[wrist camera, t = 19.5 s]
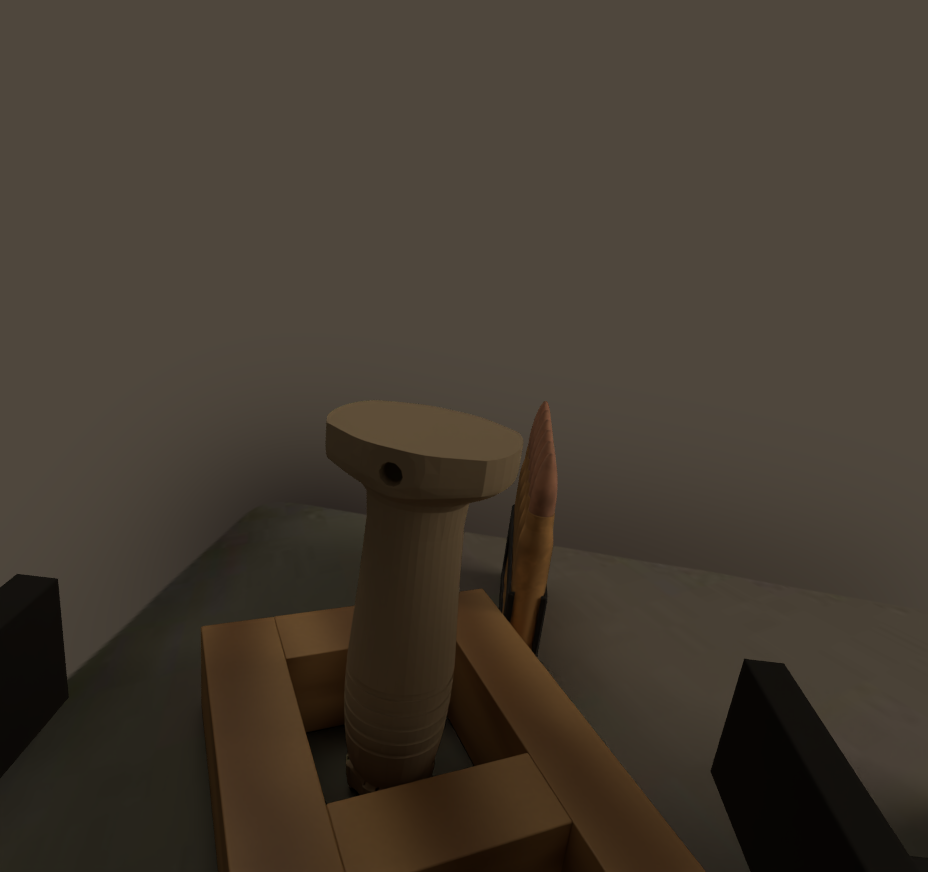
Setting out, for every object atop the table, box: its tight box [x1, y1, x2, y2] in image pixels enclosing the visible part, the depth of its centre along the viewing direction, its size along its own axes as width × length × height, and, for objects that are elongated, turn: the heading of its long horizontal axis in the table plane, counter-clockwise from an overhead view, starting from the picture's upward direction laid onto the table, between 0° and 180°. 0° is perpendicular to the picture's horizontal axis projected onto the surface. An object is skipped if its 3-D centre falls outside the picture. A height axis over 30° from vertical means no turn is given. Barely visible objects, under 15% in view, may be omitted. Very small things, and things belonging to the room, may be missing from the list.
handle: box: [326, 400, 523, 795], centre depth 24 cm, size 5×6×15 cm
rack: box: [201, 589, 706, 872], centre depth 22 cm, size 13×23×4 cm, turn 23°
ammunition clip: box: [499, 401, 557, 657], centre depth 36 cm, size 11×2×12 cm, turn 175°
